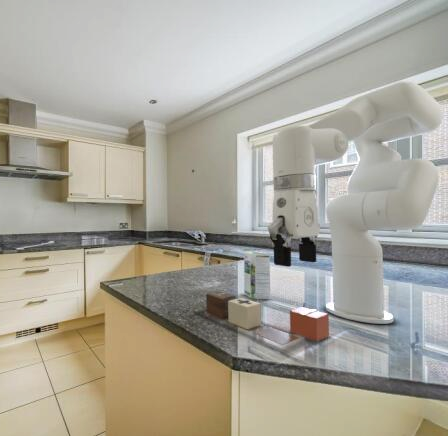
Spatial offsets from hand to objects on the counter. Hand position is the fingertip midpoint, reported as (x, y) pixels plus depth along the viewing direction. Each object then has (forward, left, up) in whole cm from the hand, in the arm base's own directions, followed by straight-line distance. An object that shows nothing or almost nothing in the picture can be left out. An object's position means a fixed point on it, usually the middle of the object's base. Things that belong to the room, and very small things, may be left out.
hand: (295, 263), depth 54 cm
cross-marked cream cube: (+6, -8, -15) cm, 18 cm away
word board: (+6, -8, -15) cm, 18 cm away
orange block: (-1, +2, -15) cm, 15 cm away
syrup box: (-17, -20, -16) cm, 31 cm away
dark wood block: (+6, -15, -15) cm, 22 cm away
